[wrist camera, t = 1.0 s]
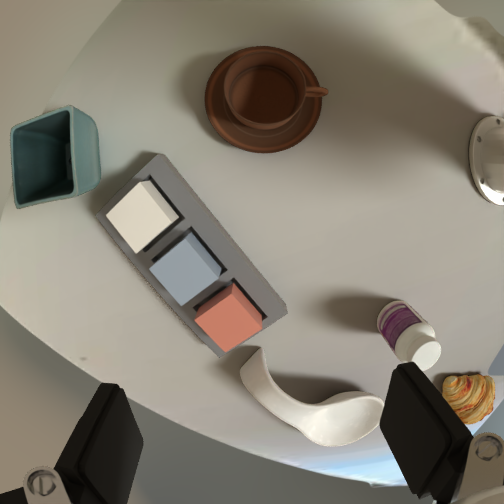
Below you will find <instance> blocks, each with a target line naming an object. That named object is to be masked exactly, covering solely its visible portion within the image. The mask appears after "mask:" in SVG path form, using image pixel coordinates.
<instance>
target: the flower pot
mask: <svg viewBox="0 0 504 504" xmlns="http://www.w3.org/2000/svg"><path fill="white" fill-rule="evenodd" d="M10 146H11V165H12V180H13V192H14V201H15V205H16V208H17V209H21V208H25V207H29V206H33V205H37V204H41V203H46V202H51V201H56V200H62V199H68V198H73V197H76V196H79V195H81V194H83V193H85V192H88V191H90V190H92V189H94V188H95V187H96V186H97V185H98V184H99V182H100V179H101V167H100V155H99V138H98V130H97V126H96V124H95V122H94V120H93V119H92V118H91V117H90V116H89V115H87V114H85V113H84V112H82V111H80V110H79V109H77V108H75V107H73V106H72V105H67V106H64V107H61V108H58V109H56V110H53V111H50V112H48V113H45V114H43V115H40V116H38V117H35V118H32V119H30V120H27V121H25V122H22V123H20V124H17V125H15V126H13V127H12V129H11V133H10ZM70 160H72V163H70Z"/></svg>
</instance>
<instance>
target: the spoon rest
mask: <svg viewBox="0 0 504 504" xmlns="http://www.w3.org/2000/svg"><path fill="white" fill-rule="evenodd" d="M240 377H241V380H242V382H243V384H244V385H245V387H246V388H247V390H248V391H249V392H250V393H251V394H252V395H253V397H254V398H255V399H256V400H257V401H258V402H259V403H261V404H262V405H263V406H264V407H265V408H266V409H268V410H269V411H270V412H271V413H273V414H274V415H275V416H277V417H278V418H280V419H281V420H283V421H284V422H286V423H288V424H290V425H292V426H294V427H295V428H297V429H298V430H299V431H300V432H302V434H303V435H305V436H306V437H307V438H308V439H309V440H311V441H313V442H314V443H316V444H319V445H322V446H342V445H346V444H349V443H352V442H355V441H357V440H359V439H361V438H362V437H364V436H366V435H367V434H368V433H370V432H371V431H372V430H373V429H374V428H376V427H377V426H378V424H379V423H380V418H381V415H382V411H383V408H384V402H383V401H382V400H381V399H380V398H379V397H377V396H376V395H374V394H371V393H367V392H361V391H350V392H343V393H339V394H336V395H334V396H332V397H330V398H328V399H326V400H325V401H323V402H321V403H317V404H307V403H303V402H300V401H298V400H296V399H294V398H292V397H291V396H289V395H288V394H286V393H285V392H284V391H283V390H281V389H280V388H279V387H278V386H277V384H276V383H275V382H274V381H273V379H272V377H271V376H270V374H269V371H268V368H267V364H266V358H265V352H264V350H263V349H262V348H260V349H258V350H257V351H256V352H255V353H254V354H253V356H252V357H251V358H250V359H249V360H248V361H247V362H246V363H245V364H244V365H243V366H242V367H241V369H240Z"/></svg>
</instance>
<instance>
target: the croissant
mask: <svg viewBox="0 0 504 504" xmlns="http://www.w3.org/2000/svg"><path fill="white" fill-rule="evenodd" d="M442 385H443V388H442V389H443V392H442V396H443V397H444V399H445V400H446V401H447V402H448V404H449V405H450V406H451V408H452V409H453V410H454V411H455V413H456V414H457V415H458V416H459V418H460V419H461V420H462V422H463V423H464V424H473V423H476V422H478V421H481V420H482V419H483V418H484V416H486V415H488V414H490V413H491V412H492V411H493V400H494V399H495V383H494V380H493V378H491V377H489V376H482V375H480V374H477V375H472V376H468V375H463V376H461V377H460V376H459V377H457V376H449V377H447V378H446V379H445V380H444V382H443V384H442Z"/></svg>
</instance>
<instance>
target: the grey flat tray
mask: <svg viewBox="0 0 504 504" xmlns="http://www.w3.org/2000/svg"><path fill="white" fill-rule="evenodd" d="M143 181H151V183H152V184H153V185H154V187H155V188H156V189H157V190H158V192H159V193H160V194H161V195H162V197H163V198H164V199H165V200H166V202H167V203H168V204H169V205H170V207H171V208H172V209H173V210H174V212H175V213H176V214H177V215H178V216H179V218H178V219H176V220H175V221H174V222H173V223H172V224H171V225H169V226H168V227H167V228H166V229H165V230H164V231H162V232H161V233H160V234H159V235H158V236H157V237H156V238H154V239H153V240H152V241H151V242H150V243H149V244H148V245H147V246H145V247H144V248H143V249H142V250H140V251H139V252H138V253H135V252H134V250H133V249H132V248H131V247H130V246H129V244H128V243H127V242H126V241H125V239H124V238H123V237H122V236H121V234H120V233H119V232H118V231H117V229H116V228H115V227H114V225H113V224H112V223H111V222H110V220H109V219H108V218H107V216H106V215H107V214H108V213H109V212H110V211H111V210H112V209H113V208H114V207H115V206H116V205H117V204H118V203H119V202H120V201H121V200H122V199H123V198H124V197H125V196H126V195H127V194H128V193H129V192H130V191H131V190H132V189H133V188H134V187H135V186H136V185H137V184H138V183H139V182H143ZM95 216H96V217H97V219H98V220H99V221H100V223H101V224H102V225H103V226H104V228H105V229H106V230H107V232H108V233H109V234H110V235H111V237H112V238H113V239H114V241H115V242H116V243H117V244H118V246H119V247H120V248H121V249H122V251H123V252H124V253H125V254H126V256H127V257H128V258H129V259H130V260H131V262H132V263H133V264H134V265H135V266H136V268H137V269H138V270H139V271H140V272H141V274H142V275H143V276H144V277H145V278H146V279H147V281H148V282H149V283H150V284H151V285H152V286H153V288H154V289H155V290H156V291H157V292H158V293H159V294H160V296H161V297H162V298H163V299H164V300H165V301H166V302H167V303H168V304H169V306H170V307H171V308H172V309H173V310H174V311H175V312H176V313H177V314H178V315H179V317H180V318H181V319H182V320H183V321H184V322H185V323H186V324H187V325H188V326H189V327H190V328H191V329H192V330H193V331H194V333H195V334H196V335H197V336H198V337H199V338H200V339H201V340H202V341H203V342H204V343H205V344H206V345H207V346H208V347H209V348H210V349H211V350H212V351H213V352H214V353H215V354H216V355H217V356H218V357H219V358H220V357H221V356H223V355H225V354H226V353H228V352H229V351H231V350H233V349H234V348H236V347H237V346H239V345H241V344H242V343H244V342H245V341H247V340H248V339H250V338H251V337H253V336H254V335H256V334H258V333H259V332H261V331H262V330H264V329H265V328H267V327H268V326H270V325H271V324H273V323H274V322H276V321H277V320H279V319H280V318H282V317H283V316H285V315H286V314H288V312H287V308H286V304H285V303H284V301H283V300H282V299H281V298H280V297H279V295H278V294H277V293H276V292H275V290H274V289H273V288H272V287H271V286H270V284H269V283H268V282H267V281H266V279H265V278H264V277H263V276H262V275H261V273H260V272H259V271H258V270H257V268H256V267H255V266H254V265H253V263H252V262H251V261H250V260H249V259H248V257H247V256H246V255H245V254H244V252H243V251H242V250H241V249H240V247H239V246H238V245H237V244H236V243H235V241H234V240H233V239H232V238H231V236H230V235H229V234H228V233H227V231H226V230H225V229H224V228H223V227H222V225H221V224H220V223H219V222H218V220H217V219H216V218H215V217H214V215H213V214H212V213H211V212H210V210H209V209H208V208H207V207H206V205H205V204H204V203H203V202H202V201H201V199H200V198H199V197H198V196H197V194H196V193H195V192H194V191H193V189H192V188H191V187H190V186H189V184H188V183H187V182H186V181H185V179H184V178H183V177H182V176H181V174H180V173H179V172H178V171H177V169H176V168H175V167H174V166H173V164H172V163H171V162H170V161H169V159H168V158H167V157H166V156H165V155H163V154H158V155H156V156H155V157H154V158H153V159H152V160H151V161H150V162H149V163H148V164H147V165H145V166H144V167H143V168H142V169H141V170H140V171H139V172H138V173H137V174H136V175H135V176H134V177H133V178H132V179H131V180H130V181H129V182H127V183H126V184H125V185H124V186H123V187H122V188H121V189H120V190H119V191H118V192H117V193H116V194H115V195H114V196H113V197H112V198H111V199H110V200H109V201H108V203H107V204H106V205H105V206H104V207H103V208H102V209H101V210H100V211H99V212H98V213H97V214H96V215H95ZM191 232H192V234H193V235H194V236H195V237H196V239H197V240H198V241H199V242H200V243H201V245H202V246H203V247H204V248H205V249H206V251H207V252H208V253H209V254H210V255H211V257H212V258H213V259H214V260H215V261H216V263H217V264H218V265H219V266H220V267H221V272H220V275H219V278H218V279H217V280H216V281H214V282H213V283H212V284H210V285H209V286H208V287H206V288H205V289H204V290H202V291H201V292H200V293H198V294H197V295H196V296H194V297H193V298H192V299H190V300H189V301H188V302H186V303H185V304H184V305H182V306H181V305H180V304H179V303H178V302H177V301H176V300H175V299H174V297H173V296H172V295H171V294H170V293H169V292H168V291H167V289H166V288H165V287H164V286H163V285H162V284H161V283H160V281H159V280H158V279H157V278H156V277H155V276H154V274H153V273H152V272H151V271H150V270H149V268H150V267H151V266H152V265H153V264H154V263H155V262H156V261H157V260H158V259H160V258H161V257H162V256H163V255H164V254H165V253H167V252H168V251H169V250H170V249H171V248H173V247H174V246H175V245H176V244H177V243H179V242H180V241H181V240H182V239H183V238H185V237H186V236H187V235H188V234H190V233H191ZM232 283H234V284H235V285H236V286H237V287H238V289H239V290H240V291H241V292H242V293H243V294H244V296H245V297H246V298H247V299H248V300H249V301H250V303H251V304H252V305H253V306H254V307H255V308H256V310H257V311H258V312H259V313H260V314H261V315H262V329H261V330H260V331H258V332H257V333H255V334H253V335H252V336H250V337H249V338H247V339H246V340H244V341H243V342H241V343H240V344H238V345H236V346H235V347H233V348H232V349H230V350H229V351H227V352H224V351H223V350H222V349H221V348H220V347H219V346H218V345H217V344H216V343H215V342H214V341H213V340H212V338H211V337H210V336H209V335H208V334H207V333H206V332H205V331H204V330H203V329H202V328H201V327H200V326H199V325H198V324H197V323H196V322H195V321H194V319H195V317H196V314H197V311H198V309H199V307H201V306H202V305H203V304H205V303H206V302H207V301H209V300H210V299H212V298H213V297H214V296H216V295H217V294H218V293H220V292H221V291H223V290H224V289H225V288H227V287H228V286H229V285H231V284H232Z"/></svg>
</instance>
